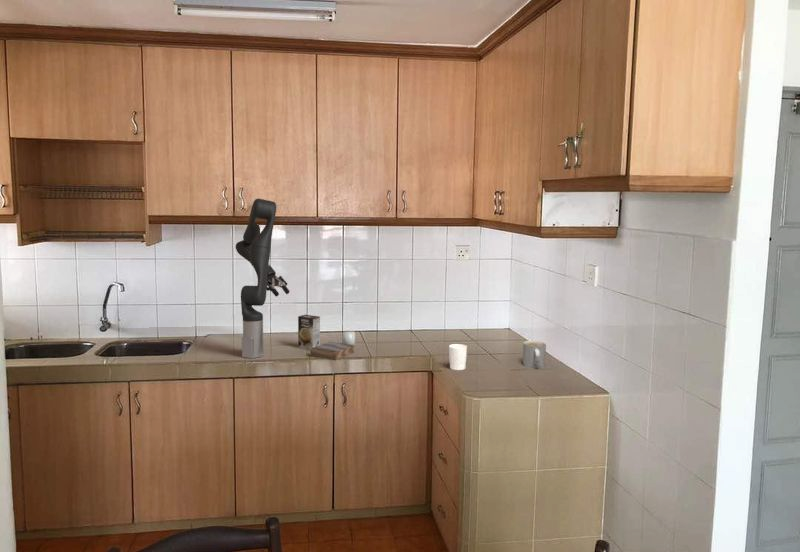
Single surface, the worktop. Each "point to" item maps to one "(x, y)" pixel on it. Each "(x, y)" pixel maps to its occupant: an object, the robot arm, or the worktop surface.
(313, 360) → the worktop surface
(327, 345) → the podium
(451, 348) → the white cup
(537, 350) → the coffee mug
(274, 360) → the worktop surface
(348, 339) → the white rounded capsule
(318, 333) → the coffee box
